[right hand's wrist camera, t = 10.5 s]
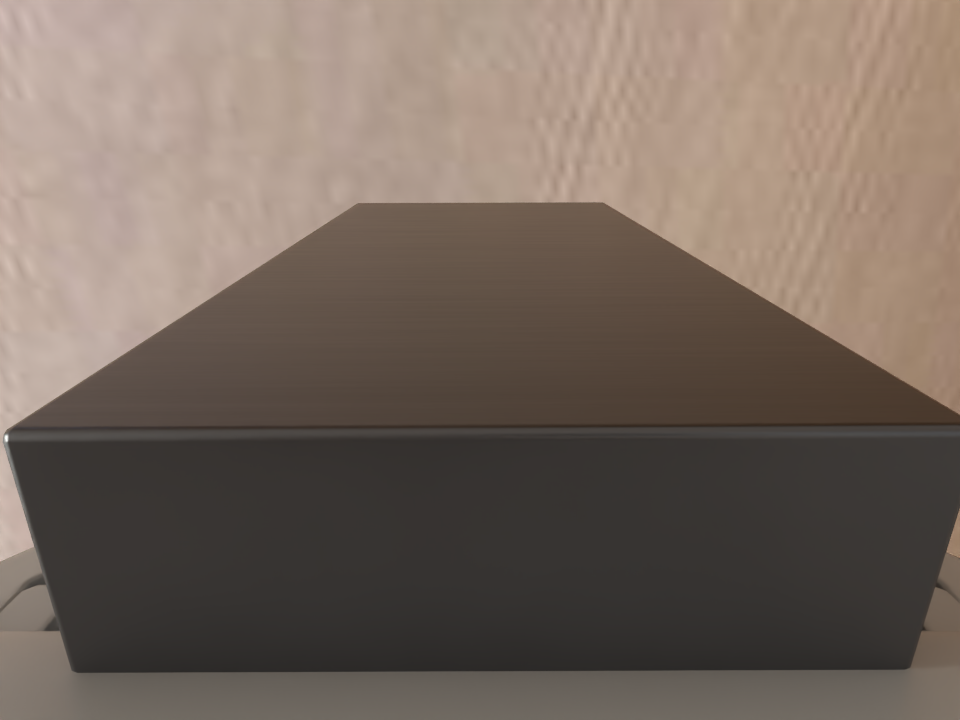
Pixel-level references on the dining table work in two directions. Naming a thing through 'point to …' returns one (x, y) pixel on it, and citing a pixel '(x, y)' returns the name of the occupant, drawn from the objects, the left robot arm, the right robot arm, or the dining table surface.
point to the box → (488, 466)
